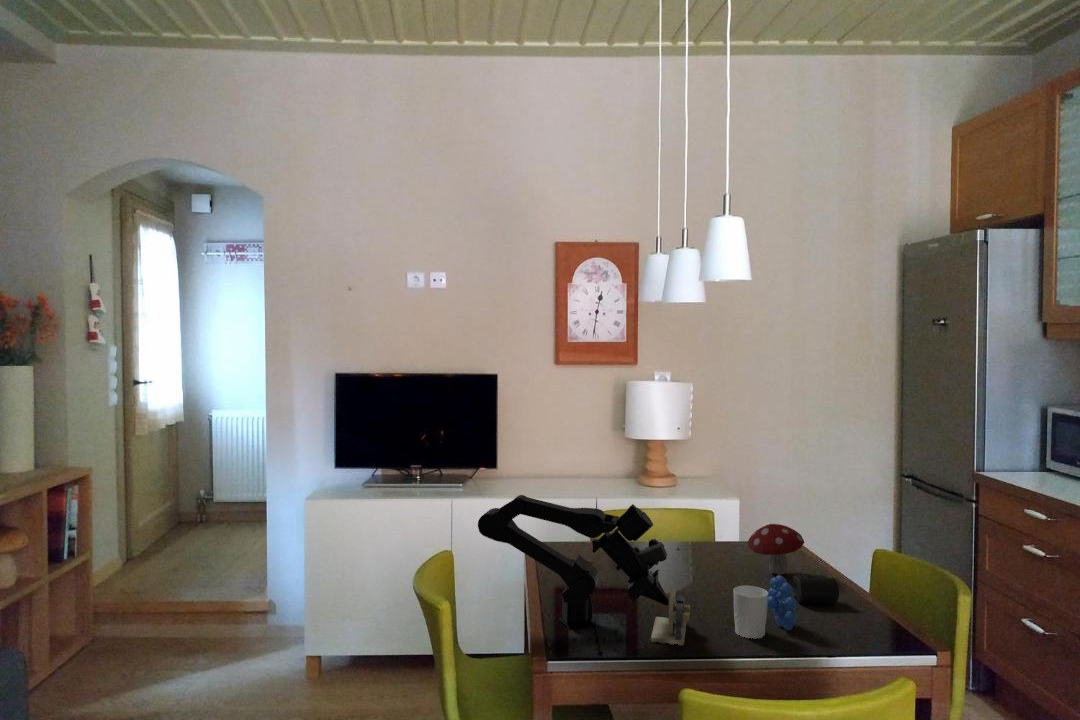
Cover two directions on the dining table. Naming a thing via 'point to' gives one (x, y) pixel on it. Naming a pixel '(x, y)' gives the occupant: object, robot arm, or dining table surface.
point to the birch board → (665, 632)
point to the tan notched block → (673, 610)
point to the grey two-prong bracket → (679, 618)
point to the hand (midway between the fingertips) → (668, 604)
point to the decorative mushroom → (775, 545)
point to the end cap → (815, 590)
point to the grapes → (782, 602)
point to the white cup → (750, 611)
